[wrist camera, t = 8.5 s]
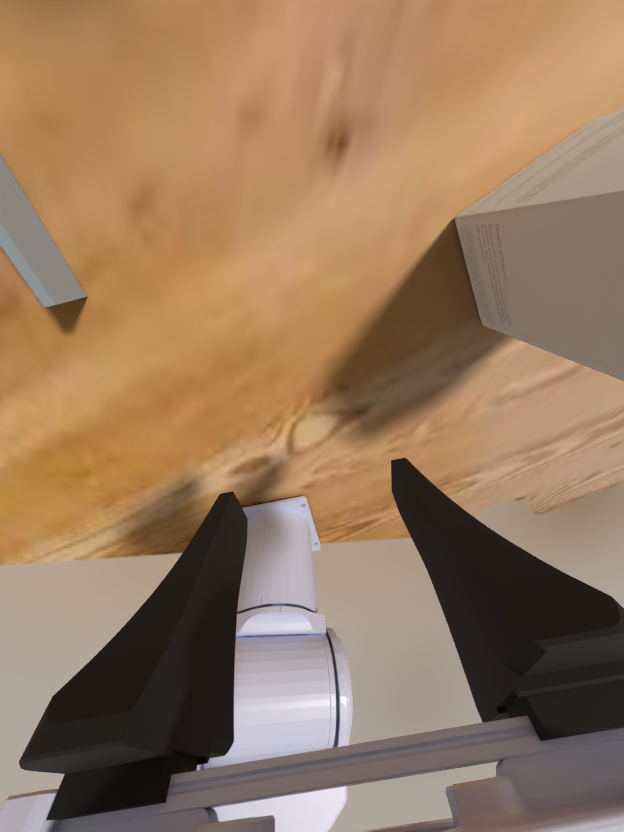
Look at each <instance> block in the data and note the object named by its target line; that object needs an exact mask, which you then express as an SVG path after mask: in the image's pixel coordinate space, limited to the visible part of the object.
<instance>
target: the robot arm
mask: <svg viewBox="0 0 624 832" xmlns="http://www.w3.org/2000/svg"><path fill="white" fill-rule="evenodd" d="M391 474H392V493H393V496H394V499H395V502H396V504H397V507H398V510H399V512H400V515H401V517H402V519H403V521H404V523H405V525H406V527H407V529H408V531H409V533H410V535H411V537H412V539H413V541H414V543H415V545H416V547H417V550H418V552H419V554H420V555H421V558H422V560H423V562H424V564H425V566H426V568H427V571H428V573H429V576H430V578H431V581H432V584H433V586H434V589H435V591H436V594H437V596H438V599H439V602H440V604H441V607H442V610H443V613H444V615H445V618H446V621H447V623H448V626H449V629H450V632H451V634H452V637H453V640H454V643H455V646H456V648H457V651H458V654H459V657H460V660H461V663H462V666H463V669H464V672H465V674H466V677H467V680H468V683H469V686H470V689H471V692H472V695H473V698H474V701H475V704H476V707H477V710H478V712H479V715H480V717H481V719H482V722H483V723H479V724H473V725H467V726H461V727H455V728H449V729H443V730H437V731H431V732H425V733H419V734H413V735H407V736H401V737H396V738H389V739H383V740H377V741H372V742H365V743H359V744H353V745H349V738H350V733H351V727H352V688H351V679H350V672H349V666H348V661H347V657H346V653H345V649H344V646H343V644H342V642H341V640H340V639H339V637H338V636H337V635H336V633H335V631H334V630H333V629H332V628H328V627H327V628H326V626H325V616H324V614H323V613H318V608H317V594H316V583H315V572H314V561H313V552H315V551H319V550H320V549H321V545H320V542H319V538H318V535H317V532H316V528H315V525H314V521H313V518H312V515H311V511H310V508H309V505H308V501H307V498H306V497H304V496H300V497H294V498H289V499H284V500H279V501H274V502H269V503H264V504H258V505H253V506H248V507H243V508H242V507H241V505H240V503H239V501H238V499H237V497H236V496H235V494H234V492H228V493H223V494H220V495H219V497H218V498H217V500H216V501H215V503H214V505H213V506H212V508H211V510H210V511H209V513H208V515H207V516H206V518H205V520H204V521H203V523H202V525H201V526H200V528H199V529H198V531H197V532H196V534H195V536H194V537H193V539H192V540H191V542H190V543H189V545H188V546H187V548H186V549H185V551H184V552H183V554H182V555H181V557H180V558H179V560H178V561H177V562H176V564H175V565H174V566H173V568H172V569H171V570H170V572H169V573H168V575H167V576H166V577H165V578H164V580H163V581H162V582H161V584H160V585H159V586H158V587H157V589H156V590H155V591H154V592H153V594H152V595H151V596H150V597H149V598H148V599H147V601H146V602H145V603H144V604H143V605H142V606H141V607H140V609H139V610H138V611H137V612H136V613H135V615H134V616H133V617H132V618H131V619H130V620H129V621H128V622H127V623H126V625H125V626H124V627H123V628H122V629H121V630H120V631H119V632H118V633H117V634H116V635H115V636H114V637H113V638H112V639H111V641H109V642H108V644H107V645H106V646H105V647H104V648H103V649H102V650H101V651H100V652H99V653H98V654H97V655H96V656H95V657H94V658H93V659H92V660H91V661H90V662H89V663H88V664H86V665H85V666H84V668H82V669H81V670H80V671H79V672H78V673H77V674H76V675H75V676H74V677H73V678H72V679H71V680H70V681H69V682H68V683H67V684H65V685H64V686H63V687H62V688H61V689H60V690H59V691H58V692H57V693H56V694H55V695H54V696H53V697H52V699H51V701H50V703H49V705H48V706H47V708H46V710H45V712H44V714H43V716H42V718H41V720H40V722H39V724H38V726H37V728H36V730H35V732H34V734H33V736H32V738H31V740H30V742H29V744H28V745H27V747H26V749H25V751H24V753H23V755H22V757H21V759H20V761H19V764H20V767H21V768H22V769H24V770H30V771H39V772H51V773H62V774H65V775H64V778H63V780H62V782H61V785H60V787H59V789H54V790H45V791H38V792H32V793H26V794H20V795H15V796H9V797H8V798H7V799H6V800H5V801H4V803H3V805H2V807H1V809H0V832H328V831H329V830H330V828H331V827H332V825H333V824H334V822H335V820H336V819H337V817H338V815H339V814H340V812H341V810H342V809H343V807H344V805H345V803H346V800H347V786H350V785H356V784H362V783H369V782H375V781H380V780H387V779H393V778H399V777H405V776H412V775H417V774H424V773H430V772H436V771H442V770H448V769H454V768H461V767H467V766H473V765H479V764H485V763H492V762H498V761H500V762H498V763H497V766H496V777H494V778H488V779H482V780H476V781H470V782H465V783H459V784H453V785H452V786H449V787H447V788H446V795H447V798H448V802H449V805H450V808H451V812H452V816H453V818H449V819H442V820H435V821H428V822H420V823H413V824H407V825H400V826H392V827H386V828H379V829H373V830H367V831H361V832H624V608H623V607H622V606H620V604H619V603H618V602H617V601H615V600H614V599H613V598H612V597H611V596H609V595H607V594H605V593H603V592H601V591H599V590H597V589H595V588H593V587H591V586H589V585H587V584H585V583H583V582H581V581H579V580H577V579H575V578H573V577H571V576H569V575H567V574H565V573H563V572H561V571H560V570H558V569H556V568H554V567H552V566H551V565H549V564H547V563H545V562H543V561H542V560H540V559H538V558H536V557H535V556H533V555H531V554H530V553H528V552H526V551H525V550H523V549H521V548H520V547H518V546H516V545H514V544H513V543H511V542H510V541H508V540H506V539H505V538H503V537H502V536H500V535H499V534H497V533H496V532H494V531H493V530H491V529H490V528H488V527H487V526H485V525H484V524H483V523H481V522H480V521H478V520H477V519H476V518H474V517H473V516H471V515H470V514H469V513H467V512H466V511H465V510H464V509H462V508H461V507H460V506H458V505H457V504H456V503H455V502H453V501H452V500H451V499H450V498H449V497H447V496H446V495H445V494H444V493H443V492H442V491H440V490H439V489H438V488H437V487H436V486H435V485H433V484H432V483H431V482H430V481H429V480H428V479H427V478H426V477H425V476H424V475H423V474H422V473H421V472H419V471H418V470H417V469H416V468H415V467H414V466H413V465H412V464H411V463H410V462H409V461H408V460H407V459H406V458H401V459H396V460H391Z"/></svg>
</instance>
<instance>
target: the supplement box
mask: <svg viewBox="0 0 624 832" xmlns="http://www.w3.org/2000/svg"><path fill="white" fill-rule="evenodd" d="M455 222H456V227H457V231H458V235H459V239H460V243H461V247H462V250H463V254H464V258H465V262H466V266H467V270H468V273H469V278H470V282H471V286H472V289H473V293H474V297H475V301H476V304H477V308H478V312H479V316H480V319H481V322H482V325H483V326H485V327H487V328H490V329H493V330H495V331H498V332H500V333H503V334H505V335H508V336H510V337H513V338H515V339H518V340H521V341H523V342H526V343H528V344H531V345H534V346H536V347H539V348H541V349H544V350H546V351H549V352H551V353H554V354H556V355H559V356H562V357H564V358H567V359H569V360H572V361H574V362H577V363H579V364H582V365H585V366H587V367H589V368H592V369H594V370H597V371H600V372H602V373H605V374H607V375H610V376H612V377H615V378H618V379H620V380H623V381H624V109H622V110H619V111H616V112H614V113H611V114H609V115H606V116H604V117H601V118H599V119H597V120H594V121H592V122H590V123H588V124H586V125H585V126H584V127H582V128H581V129H579V130H578V131H576V132H575V133H573V134H572V135H570V136H569V137H567V138H566V139H565V140H563V141H562V142H560V143H559V144H557V145H556V146H555V147H553V148H552V149H550V150H549V151H548V152H546V153H545V154H543V155H542V156H540V157H539V158H538V159H536V160H535V161H533V162H532V163H531V164H529V165H528V166H526V167H525V168H524V169H522V170H521V171H519V172H518V173H517V174H515V175H514V176H512V177H511V178H510V179H508V180H507V181H505V182H504V183H503V184H501V185H500V186H498V187H497V188H496V189H494V190H493V191H491V192H490V193H489V194H487V195H486V196H484V197H483V198H482V199H480V200H479V201H477V202H476V203H475V204H473V205H472V206H470V207H469V208H468V209H466V210H465V211H463V212H462V213H460V214H459V215H457V216H456V218H455Z"/></svg>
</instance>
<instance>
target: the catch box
mask: <svg viewBox="0 0 624 832" xmlns="http://www.w3.org/2000/svg"><path fill="white" fill-rule="evenodd" d="M0 246H1V247H2V249H3V250H4V252H5V253H6V254H7V256H8V257H9V259H10V260H11V261H12V263H13V264H14V266H15V267H16V268H17V270H18V271H19V273H20V274H21V275H22V277H23V278H24V280H25V281H26V282H27V284H28V285H29V287H30V288H31V289H32V291H33V292H34V294H35V295H36V296H37V298H38V299H39V301H40V302H41V303H42V305H43V306H44V307H49V306H53V305H58V304H61V303H65V302H69V301H73V300H76V299H80V298H84V297H87V295H86V294H85V292H84V290H83V289H82V287H81V285H80V284H79V282H78V281H77V279H76V277H75V276H74V274H73V272H72V271H71V269H70V267H69V266H68V264H67V263H66V261H65V259H64V258H63V256H62V254H61V253H60V251H59V249H58V248H57V246H56V245H55V243H54V241H53V240H52V238H51V236H50V235H49V233H48V232H47V230H46V228H45V227H44V225H43V223H42V222H41V220H40V218H39V217H38V215H37V214H36V212H35V210H34V209H33V207H32V205H31V204H30V202H29V200H28V199H27V197H26V196H25V194H24V192H23V191H22V189H21V187H20V186H19V184H18V182H17V181H16V179H15V178H14V176H13V174H12V173H11V171H10V169H9V168H8V166H7V165H6V163H5V161H4V160H3V158H2V156H1V155H0Z"/></svg>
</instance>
